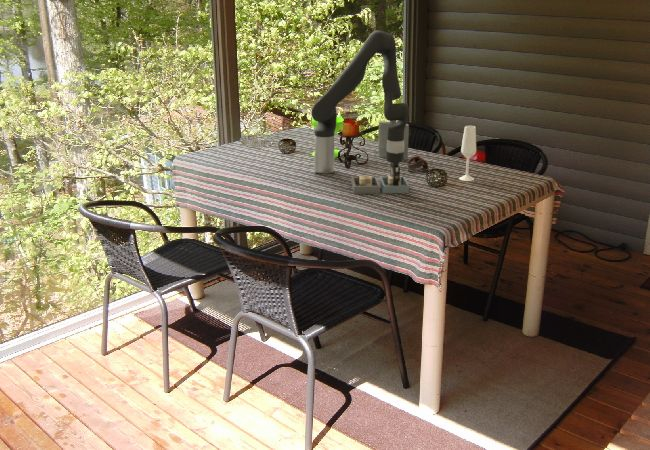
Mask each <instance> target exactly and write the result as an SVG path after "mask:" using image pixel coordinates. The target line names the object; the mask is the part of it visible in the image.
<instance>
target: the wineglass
mask: <svg viewBox="0 0 650 450" xmlns="http://www.w3.org/2000/svg"><path fill="white" fill-rule="evenodd" d="M343 121H344V122H345V120H344V118H342V117H340V116H336V129H335V132H334V135H336V134H337V133H339V131H340V130H341V129H342V128H343V126H342V125H344V122H343ZM311 122H312V126H313V128H314V129H315V128H316V127H317V124H318V122H317V121H315V120H314V119H313V118H312V119H311ZM339 151H340V149H335V148H334V159H337V158H336V157H338V152H339ZM311 155H312V156H313V157H314V151H313V152H312V154H311Z"/></svg>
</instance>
